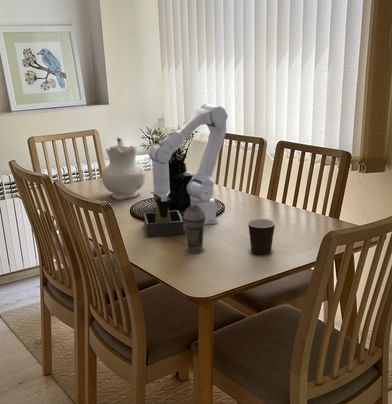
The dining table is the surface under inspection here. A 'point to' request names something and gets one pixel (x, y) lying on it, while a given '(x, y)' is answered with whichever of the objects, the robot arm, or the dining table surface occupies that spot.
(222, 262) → the dining table surface
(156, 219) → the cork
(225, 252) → the dining table surface
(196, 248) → the beverage cup
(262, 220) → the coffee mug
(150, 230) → the bin
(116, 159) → the ceramic pitcher
